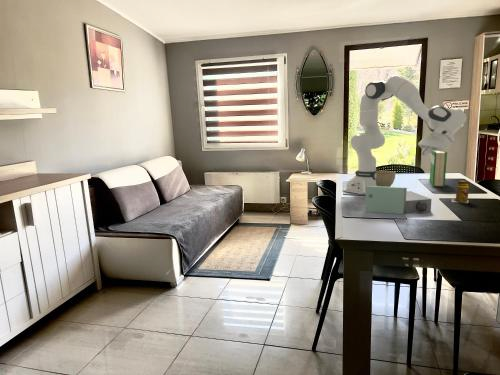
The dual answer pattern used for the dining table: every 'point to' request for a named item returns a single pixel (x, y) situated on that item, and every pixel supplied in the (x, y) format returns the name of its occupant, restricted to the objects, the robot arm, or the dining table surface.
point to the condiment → (462, 192)
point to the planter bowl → (385, 178)
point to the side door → (385, 199)
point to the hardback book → (438, 168)
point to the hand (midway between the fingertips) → (423, 154)
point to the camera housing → (417, 203)
